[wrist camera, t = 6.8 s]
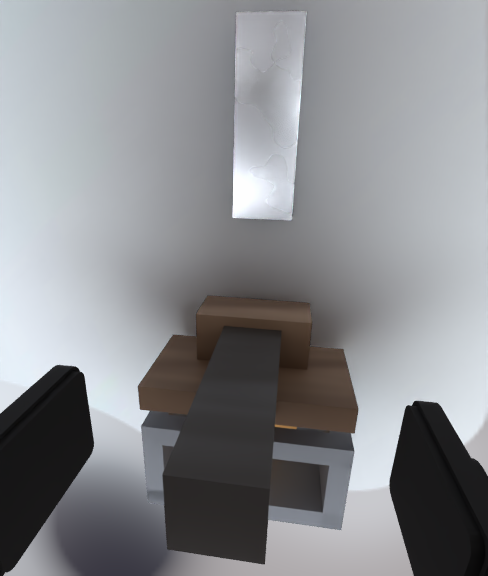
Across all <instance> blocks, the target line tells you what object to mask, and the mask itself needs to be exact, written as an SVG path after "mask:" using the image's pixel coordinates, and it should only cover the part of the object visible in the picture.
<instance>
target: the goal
mask: <svg viewBox="0 0 488 576" xmlns="http://www.w3.org/2000/svg"><path fill="white" fill-rule="evenodd" d="M186 417H187V415H185V414H176V413H167V412H158V411H150V412H149V414H148V415H147V417H146V419H145V421H144V422H143V424H142V426H141V429H142V441H143V451H144V463H145V474H146V486H147V498H148V503H154V504H161V505H164V493H163V478H162V474H163V472H164V470H165V467H166V465H167V462H168V460H169V458H170V455H171V453H172V450H173V448H174V445H175V443H176V441H177V438H178V436H179V433H180V431H181V429H182V426H183V424H184V421H185V419H186ZM353 456H354V447H353V443H352V438H351V433H346V432H337V431H328V430H319V429H310V428H301V427H297V429H290V428H281V427H275V430H274V444H273V458H272V472H271V485H270V499H269V513H268V520H273V521H280V522H288V523H295V524H302V525H309V526H317V527H323V528H330V529H337V530H341V528H342V522H343V515H344V510H345V504H346V497H347V492H348V486H349V480H350V474H351V468H352V462H353Z"/></svg>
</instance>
